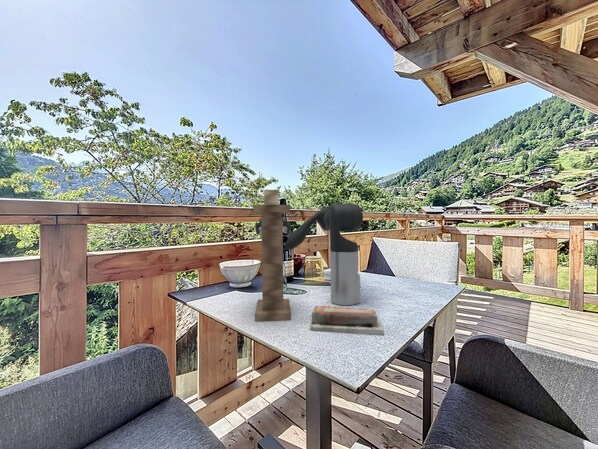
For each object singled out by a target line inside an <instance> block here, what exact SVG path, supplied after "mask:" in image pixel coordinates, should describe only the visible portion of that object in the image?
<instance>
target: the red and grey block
mask: <svg viewBox="0 0 598 449" xmlns="http://www.w3.org/2000/svg"><path fill="white" fill-rule="evenodd" d="M309 330H310V331H313V332H326V333H338V334H339V333H340V334H354V335H370V336H383V335H384V328H383V325H382V322H381V319H380V317H379V316H377V312H376V310H374V309H372V308H362V307H361V308H359V307H349V306H348V307H342V306H329V305H315V306H314V308H313V309H312V312H311V322H310V326H309Z"/></svg>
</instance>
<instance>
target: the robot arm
mask: <svg viewBox="0 0 598 449" xmlns="http://www.w3.org/2000/svg"><path fill="white" fill-rule="evenodd" d="M316 221H317V223H318V224H319V226H320V228H322V230H324V231H326V232H328V231H329V241H330V242H329V243H330V244H329V245H330V246H329V250H330V251H329V252H330V254H329V255H330V302H331V303H332V304H335V305H339V306H354V305H356V304H361V274H360V273H359V253H358V252H359V250H358V249H359V246H358V243H357V242H356V241H353V240H349V239H348V238H346V237H344V236H342V234H341V232H353V231H354V232H355V231H357V230H359V229H360V227H362V224H363V222H364V213H363V210H362V208H361V207H360V206H359V205H357V203H334V204H331V205H330V206H329V205H328V206H324V207H323V208H321V209H319V210H318V211H317V212H315V213H314V214H313V215H312V216H311V217H309V218H308V219H307V220H306V221H305V222H303V223H302V224H301V225H300V226H299V227H298V228H296V229H295V230H294V231H292V232H291V228H292V226H291V225H292V224H291V222H289V221H288V222H287V218H285V216H282V222H283V233H286V235H289V237H288V240H287V241H286V242H285V250H289V249H292V250H294V249H296V248H297V247H299V246H300V245H301V244H303V242H304V241H305V239H306V238H307V235H308V233H309V230H311V227H312V226H313V224H314V223H315V222H316ZM254 225H255V226H254V229H255V233H256V235H260V233H261V234H262V222H261V217H259V218H258V222H255V223H254Z"/></svg>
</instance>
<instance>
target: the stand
mask: <svg viewBox="0 0 598 449" xmlns="http://www.w3.org/2000/svg"><path fill="white" fill-rule="evenodd" d="M290 207H291V205H290V204H279V205H264V204H253V208H252V211H253V213H254V214H257V215H261V217H260V218H261V222H262V233H261V273H262V274H261V284H262V286H261V289H262V290H261V292H262V297H261V298H262V299H258V300H257V303H256V307H255V310H254V322H274V321H275V322H276V321H277V322H279V321H292V312H291V304H290V299H289V298H284V259H283V239H284V238H283V237H284V232H283V230H284V229H283V215H288V214H290V212H291V208H290Z"/></svg>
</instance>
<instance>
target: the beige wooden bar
mask: <svg viewBox="0 0 598 449" xmlns="http://www.w3.org/2000/svg"><path fill="white" fill-rule="evenodd" d="M279 191H280V189H264V190H263V205H280V192H279Z"/></svg>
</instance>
